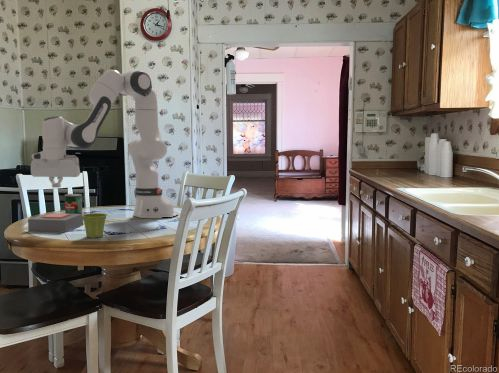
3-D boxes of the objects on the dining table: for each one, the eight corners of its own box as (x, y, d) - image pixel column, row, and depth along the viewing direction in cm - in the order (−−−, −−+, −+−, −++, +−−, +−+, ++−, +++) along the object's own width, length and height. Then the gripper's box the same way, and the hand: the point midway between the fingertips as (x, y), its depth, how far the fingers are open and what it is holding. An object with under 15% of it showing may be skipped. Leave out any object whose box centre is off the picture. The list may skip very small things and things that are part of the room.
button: (70, 223, 196) (69, 214, 196) (61, 227, 188) (60, 217, 188) (52, 223, 197) (52, 213, 196) (42, 226, 189) (42, 216, 188)
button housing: (83, 225, 200) (82, 213, 199) (65, 232, 184) (65, 220, 183) (48, 223, 201) (48, 212, 200) (28, 231, 185) (28, 219, 185)
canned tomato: (82, 215, 226) (82, 193, 225) (82, 217, 218) (81, 195, 217) (65, 215, 223) (65, 193, 222) (64, 218, 216) (64, 195, 215)
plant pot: (87, 233, 182) (87, 212, 181) (110, 234, 181) (110, 213, 180) (78, 238, 172) (77, 216, 171) (102, 239, 172) (102, 217, 171)
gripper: (81, 154, 192) (83, 186, 193) (36, 154, 193) (37, 186, 195) (75, 155, 185) (76, 188, 187) (27, 155, 187) (29, 188, 189)
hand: (56, 187), depth 191 cm, fingers closed
